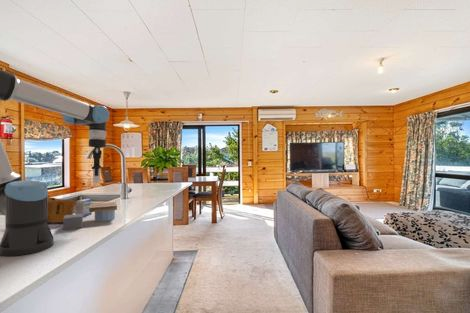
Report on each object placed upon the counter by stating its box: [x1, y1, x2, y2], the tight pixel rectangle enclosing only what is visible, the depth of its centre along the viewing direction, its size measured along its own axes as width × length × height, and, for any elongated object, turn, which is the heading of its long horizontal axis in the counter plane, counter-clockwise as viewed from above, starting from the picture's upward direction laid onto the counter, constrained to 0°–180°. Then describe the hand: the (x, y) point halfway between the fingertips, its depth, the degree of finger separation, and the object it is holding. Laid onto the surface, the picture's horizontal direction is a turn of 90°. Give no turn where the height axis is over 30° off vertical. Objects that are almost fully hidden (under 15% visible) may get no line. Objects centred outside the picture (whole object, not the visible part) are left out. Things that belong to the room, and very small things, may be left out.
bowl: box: [94, 210, 116, 222], centre depth 132 cm, size 9×9×6 cm
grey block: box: [62, 213, 84, 231], centre depth 118 cm, size 7×7×5 cm
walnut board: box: [89, 201, 118, 213], centre depth 132 cm, size 12×12×2 cm
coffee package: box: [48, 196, 78, 223], centre depth 127 cm, size 10×12×22 cm
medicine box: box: [74, 198, 93, 218], centre depth 140 cm, size 8×4×9 cm, turn 179°
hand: (96, 181), depth 129 cm, fingers open, 13 cm apart
